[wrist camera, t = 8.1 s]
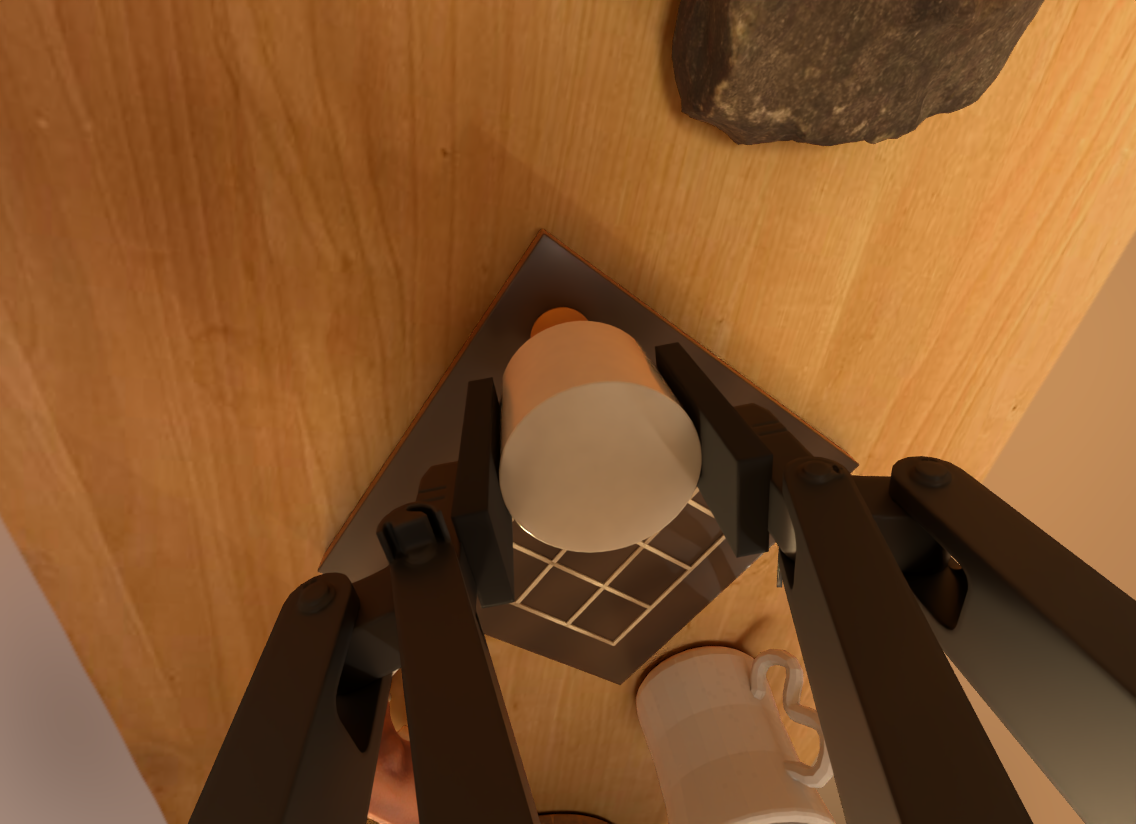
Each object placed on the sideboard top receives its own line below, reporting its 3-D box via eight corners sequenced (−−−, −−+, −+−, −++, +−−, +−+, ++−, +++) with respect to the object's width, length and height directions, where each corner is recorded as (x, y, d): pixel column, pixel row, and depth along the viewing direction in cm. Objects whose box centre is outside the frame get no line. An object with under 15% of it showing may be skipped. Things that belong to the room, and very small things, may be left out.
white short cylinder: (468, 417, 17) (458, 502, 13) (561, 287, 15) (581, 339, 11) (593, 485, 19) (617, 578, 15) (688, 375, 17) (744, 447, 13)
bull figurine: (453, 764, 38) (442, 913, 30) (332, 665, 31) (282, 823, 24) (506, 743, 37) (507, 889, 30) (394, 637, 31) (362, 790, 24)
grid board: (323, 555, 27) (315, 573, 26) (541, 227, 21) (544, 233, 20) (616, 668, 34) (621, 687, 33) (847, 452, 28) (861, 466, 27)
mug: (707, 733, 39) (766, 905, 31) (607, 707, 36) (641, 890, 28) (818, 629, 35) (925, 796, 26) (715, 590, 32) (796, 763, 23)
